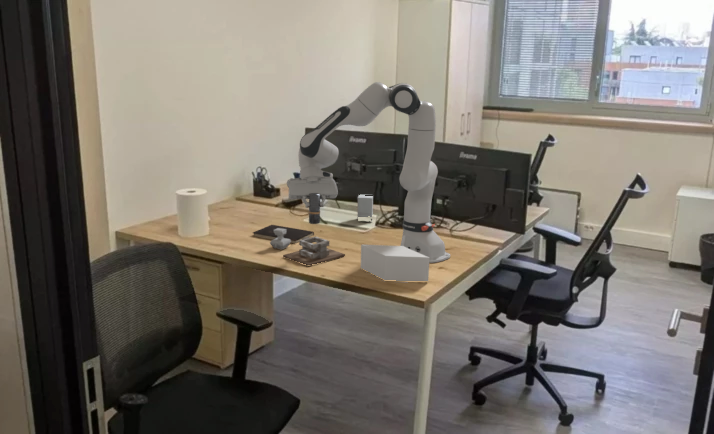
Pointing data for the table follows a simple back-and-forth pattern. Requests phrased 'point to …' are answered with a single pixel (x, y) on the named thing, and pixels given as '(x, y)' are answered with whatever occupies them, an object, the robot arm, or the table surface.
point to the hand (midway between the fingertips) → (314, 206)
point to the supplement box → (365, 206)
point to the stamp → (280, 239)
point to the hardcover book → (290, 234)
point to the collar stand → (313, 251)
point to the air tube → (314, 208)
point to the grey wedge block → (394, 263)
